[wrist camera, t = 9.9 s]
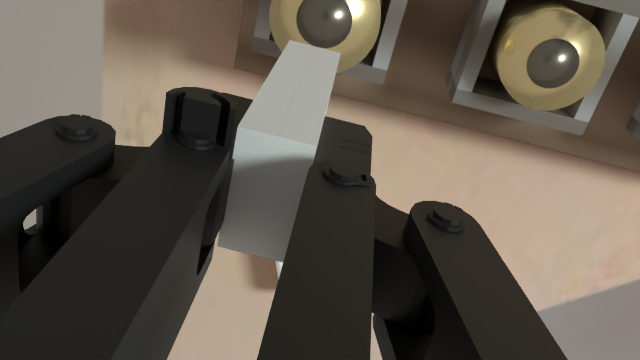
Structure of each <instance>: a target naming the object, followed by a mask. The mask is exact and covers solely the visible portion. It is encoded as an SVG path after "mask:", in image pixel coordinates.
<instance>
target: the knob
mask: <svg viewBox="0 0 640 360" xmlns="http://www.w3.org/2000/svg"><path fill="white" fill-rule="evenodd" d="M380 20H381V0H272V1H271V5H270V12H269V21H270V28H271V32H272V35H273V38H274V40H275V42H276V44H277V46H278V48H279V49H280V51H281V52H283V50H284V49H285V47H286V45H287V44H288V42H289V40H291V41H295V42H299V43H303V44H307V45H311V46H315V47H319V48H323V49H327V50H331V51H335V52H339V53H341V54H340V58H339V63H338V67H337V71H336V73H338V72H342V71H345V70H347V69H350V68H352V67H353V66H355V65H356V64H358V63H359V62H360V61H362V60H363V59H364V58H365V57H366V56H367V54H368V53H369V52H370V50H371V49H372V47H373V46H374V44H375V42H376V39H377V36H378V33H379V29H380Z"/></svg>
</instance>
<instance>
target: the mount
mask: <svg viewBox="0 0 640 360" xmlns="http://www.w3.org/2000/svg"><path fill="white" fill-rule="evenodd" d="M271 1H272V0H245V5H244V11H243V17H242V23H241V29H240V35H239V41H238V47H237V53H236V59H235V65H234V68H237V69H241V70H245V71H248V72H252V73H256V74H260V75H264V76H268V75H269V73H270V72H271V70H272V68H273V67H274V65H275V64H276V62H277V60H278V59H279V57H280V55H281V54H282V52H281V51H280V49H279V48H278V46H277V44H276V42H275V40H274V38H273V35H272V32H271V28H270V21H269V12H270V5H271ZM510 1H511V0H381V20H380V29H379V33H378V36H377V39H376V42H375V44H374V46H373V47H372V49H371V50H370V52H369V53H368V54H367V56H366V57H365V58H364V59H363V60H362V61H360V62H359V63H358V64H356V65H355V66H353V67H352V68H350V69H347V70H345V71H342V72H338V73H336V75H335V79H334V83H333V87H332V91H331V93H334V94H338V95H342V96H346V97H350V98H354V99H358V100H362V101H365V102H369V103H373V104H377V105H381V106H385V107H389V108H393V109H397V110H401V111H404V112H408V113H412V114H416V115H420V116H424V117H428V118H432V119H436V120H439V121H443V122H447V123H451V124H455V125H459V126H463V127H467V128H471V129H475V130H478V131H482V132H486V133H490V134H494V135H498V136H502V137H506V138H510V139H514V140H517V141H521V142H525V143H529V144H533V145H537V146H541V147H545V148H549V149H553V150H556V151H560V152H564V153H568V154H572V155H576V156H580V157H584V158H588V159H592V160H595V161H599V162H603V163H607V164H611V165H615V166H619V167H623V168H627V169H631V170H634V171H638V172H640V0H559V1H560V2H562V3H563V4H565V5H566V6H568V7H569V8H571V9H572V10H573V11H575V12H576V13H578V14H579V15H581V16H582V17H584V18H585V19H586V20H588V21H589V22H591V23H592V24H593V25H594V26H595V27H596V29H597V30H598V31H599V33H600V35H601V37H602V39H603V42H604V46H605V63H604V67H603V71H602V73H601V75H600V77H599V79H598V81H597V83H596V84H595V85H594V87H593V88H592V89H591V90H590V91H589V92H588V93H587V94H586V95H585V96H584V97H583V98H581V99H580V100H578V101H577V102H575V103H573V104H571V105H569V106H567V107H564V108H560V109H556V110H547V111H543V110H535V109H531V108H528V107H525V106H523V105H521V104H520V103H518V102H517V101H516V100H515V99H513V98H512V97H511V95H510V94H509V93H508V92H507V90H506V88H505V86H504V85H503V83H502V81H501V80H500V78H499V76H498V74H497V73H496V71H495V69H494V67H493V66H492V64H491V62H490V60H489V58H488V56H487V53H486V52H487V50H488V47H489V44H490V42H491V39H492V36H493V34H494V31H495V28H496V26H497V23H498V20H499V18H500V15H501V12H502V10H503V7H504V5H505V4H507V3H508V2H510Z"/></svg>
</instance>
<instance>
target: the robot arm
mask: <svg viewBox="0 0 640 360" xmlns="http://www.w3.org/2000/svg"><path fill="white" fill-rule="evenodd" d="M340 54H341V53H339V52H335V51H331V50H327V49H323V48H319V47H315V46H311V45H307V44H303V43H299V42H295V41H291V40H289V42H288V44H287V45H286V47H285V49H284V50H283V52H282V54H281V55H280V57H279V59H278V60H277V62H276V64H275V65H274V67H273V68H272V70H271V72H270V73H269V75H268V77H267V78H266V80H265V82H264V83H263V85H262V87H261V88H260V90H259V92H258V93H257V95H256V97H255V98H254V100H251V99H247V98H243V97H239V96H235V95H231V94H227V93H219V92H216V91H213V90H210V89H204V88H198V87H182V88H175V89H172V90H170V91H168V92H166V101H165V111H164V120H163V130H162V134H161V135H160V136H159V137H158V138H157V139H156V141H155V142H154V143H153V144H152V145H151V146H150V147H134V146H123V145H115V135H116V131H115V130H114V129H113V128H112V126H111V125H109V124H107V123H105V122H103V121H101V120H98V119H94V118H91V117H90V116H85V115H82V116H80V115H75V114H72V115H69V116H58V117H54V118H50V119H46V120H44V121H41V122H39V123H36V124H34V125H31V126H29V127H26V128H24V129H21V130H19V131H16V132H14V133H11V134H9V135H7V136H4V137H2V138H0V360H167V357H168V355H169V353H170V351H171V348H172V346H173V344H174V342H175V340H176V337H177V335H178V333H179V331H180V329H181V326H182V324H183V322H184V320H185V318H186V315H187V313H188V311H189V309H190V306H191V304H192V302H193V300H194V298H195V295H196V293H197V291H198V289H199V287H200V284H201V282H202V280H203V278H204V276H205V273H206V271H207V269H208V267H209V264H210V262H211V260H212V254H213V248H214V242H215V238H216V236H217V234H218V232H219V230H220V233H219V239H218V245H217V246H219V247H223V248H227V249H231V250H235V251H239V252H243V253H247V254H251V255H255V256H259V257H263V258H268V259H272V260H276V261H280V262H283V265H282V269H281V273H280V276H279V280H278V284H277V287H276V291H275V295H274V298H273V302H272V306H271V309H270V313H269V317H268V321H267V324H266V328H265V332H264V335H263V339H262V343H261V346H260V350H259V354H258V357H257V360H370V344H371V316H372V313H374V316H373V328H374V332H375V335H376V338H377V342H378V345H379V349H380V352H381V355H382V359H383V360H567V358H566V356H565V355H564V353H563V352H562V350H561V349H560V347H559V346H558V344H557V343H556V341H555V340H554V338H553V336H552V335H551V333H550V332H549V330H548V329H547V327H546V326H545V324H544V323H543V321H542V320H541V318H540V317H539V315H538V313H537V312H536V310H535V309H534V307H533V306H532V304H531V303H530V301H529V300H528V298H527V297H526V295H525V294H524V292H523V290H522V289H521V287H520V286H519V284H518V283H517V281H516V280H515V278H514V277H513V275H512V274H511V272H510V270H509V269H508V267H507V266H506V264H505V263H504V261H503V260H502V258H501V257H500V255H499V254H498V252H497V251H496V249H495V247H494V246H493V244H492V243H491V241H490V240H489V238H488V237H487V235H486V234H485V232H484V231H483V229H482V228H481V226H480V224H479V223H478V222H477V221H476V220H475V219H474V218H473V217H472V216H470V215H469V214H467V213H466V212H464V211H463V210H462V209H461V208H459V207H457V206H453V205H452V204H449V203H441V202H437V201H422V202H419V203H415V204H414V206H413V207H412V208H411V210H410V213H409V214H407V213H404V212H402V211H400V210H398V209H396V208H394V207H392V206H390V205H388V204H386V203H385V202H383V201H382V200H380V199H379V198H378V197H377V196H376V184H375V181H374V179H373V178H372V177H371V176H370V173H371V153H372V148H371V147H372V135H371V134H370V133H369V131H368V130H367V129H366V127H365V126H362V125H358V124H354V123H350V122H346V121H342V120H338V119H334V118H330V117H326V116H325V115H326V111H327V107H328V103H329V99H330V95H331V91H332V87H333V83H334V79H335V75H336V71H337V67H338V63H339V58H340ZM34 209H36V214H37V215H36V218H37V220H36V224H35V225H33V226H32V227H30V228H28V229H26V230H24V228H23V221H24V220H25V218H26V216H28V215H29V214H30V213H31V212H32V211H33V210H34Z"/></svg>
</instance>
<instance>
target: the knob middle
mask: <svg viewBox="0 0 640 360" xmlns="http://www.w3.org/2000/svg"><path fill="white" fill-rule="evenodd" d="M486 53H487V56H488V58H489V60H490V62H491V64H492V66H493V67H494V69H495V71H496V73H497V74H498V76H499V78H500V80H501V81H502V83H503V85H504V86H505V88H506V90H507V92H508V93H509V94H510V95H511V97H512V98H513V99H515V100H516V101H517V102H518V103H520V104H521V105H523V106H525V107H528V108H531V109H535V110H543V111H547V110H556V109H560V108H564V107H567V106H569V105H571V104H573V103H575V102H577V101H578V100H580V99H581V98H583V97H584V96H585V95H586V94H587V93H588V92H589V91H590V90H591V89H592V88H593V87H594V85H595V84H596V83H597V81H598V79H599V77H600V75H601V73H602V71H603V67H604V63H605V46H604V42H603V39H602V37H601V35H600V33H599V31H598V30H597V29H596V27H595V26H594V25H593V24H592V23H591V22H589V21H588V20H586V19H585V18H584V17H582V16H581V15H579V14H578V13H576V12H575V11H573V10H572V9H571V8H569V7H568V6H566V5H565V4H563V3H562V2H560V1H559V0H511V1H510V2H508V3H507V4H505V5H504V7H503V10H502V12H501V15H500V18H499V20H498V23H497V26H496V28H495V31H494V34H493V36H492V39H491V42H490V44H489V47H488V50H487V52H486Z"/></svg>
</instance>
